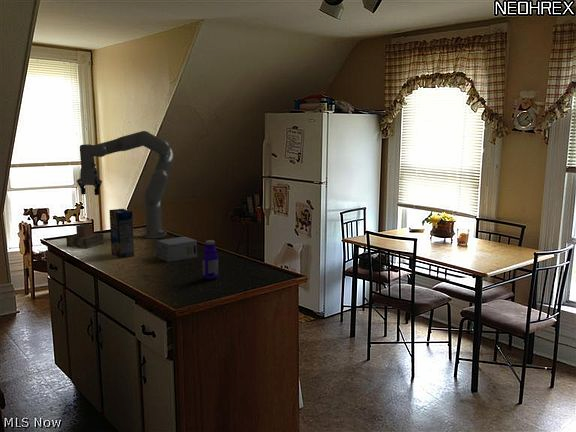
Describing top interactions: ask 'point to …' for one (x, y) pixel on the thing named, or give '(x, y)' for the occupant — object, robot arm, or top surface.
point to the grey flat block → (85, 241)
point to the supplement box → (176, 249)
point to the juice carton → (121, 233)
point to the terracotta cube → (84, 230)
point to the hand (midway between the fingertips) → (90, 194)
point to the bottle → (210, 261)
